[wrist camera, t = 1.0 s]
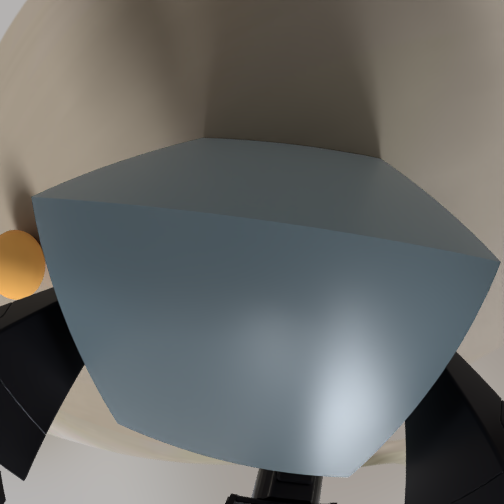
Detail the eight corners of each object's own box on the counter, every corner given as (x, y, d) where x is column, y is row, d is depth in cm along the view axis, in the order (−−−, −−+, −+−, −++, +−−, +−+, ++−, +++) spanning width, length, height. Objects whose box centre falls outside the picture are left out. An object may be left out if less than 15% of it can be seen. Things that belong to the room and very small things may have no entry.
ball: (64, 283, 18) (21, 321, 14) (29, 271, 19) (-9, 302, 15) (48, 222, 16) (-5, 255, 12) (15, 217, 17) (-31, 244, 12)
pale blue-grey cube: (346, 308, 14) (348, 477, 6) (203, 285, 15) (117, 423, 7) (381, 158, 10) (500, 261, 3) (203, 137, 12) (31, 196, 4)
